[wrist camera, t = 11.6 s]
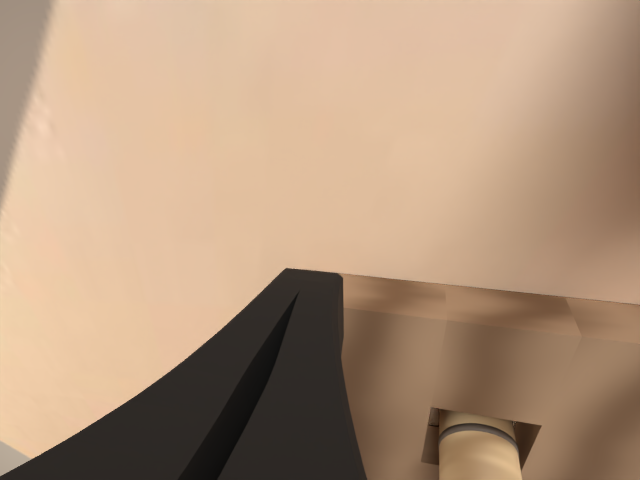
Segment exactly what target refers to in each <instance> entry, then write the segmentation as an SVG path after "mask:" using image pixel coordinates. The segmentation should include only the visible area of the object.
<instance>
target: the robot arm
mask: <svg viewBox="0 0 640 480" xmlns="http://www.w3.org/2000/svg"><path fill="white" fill-rule="evenodd" d="M343 338H344V302H343V277H342V276H341V275H339V274H338V273H330V272H320V271H310V270H300V269H290V268H286V269H285V270H283V271H282V272H281V273H280V274H279V275H278V276H277V277H276V278H275V279H274V280H273V281H272V282H271V283H270V284H269V285H268V286H267V287H266V288H265V289H264V290H263V291H262V292H261V293H260V294H259V295H258V296H257V297H256V298H254V299H253V300H252V301H251V302H250V303H249V304H248V305H247V306H246V307H245V308H244V309H243V310H242V311H241V312H240V313H239V314H237V315H236V316H235V317H234V318H233V319H232V320H231V321H230V322H229V323H228V324H227V325H226V326H224V327H223V328H222V329H221V330H220V331H219V332H218V333H217V334H215V335H214V336H213V337H212V338H211V339H209V340H208V341H207V342H206V343H205V344H203V345H202V346H201V347H200V348H199V349H197V350H196V351H195V352H194V353H193V354H191V355H190V356H189V357H188V358H187V359H185V360H184V361H183V362H181V363H180V364H179V365H178V366H176V367H175V368H174V369H172V370H171V371H170V372H168V373H167V374H166V375H164V376H163V377H162V378H160V379H159V380H158V381H156V382H155V383H153V384H152V385H151V386H149V387H148V388H146V389H145V390H144V391H142V392H141V393H139V394H138V395H137V396H135V397H134V398H132V399H131V400H129V401H127V402H126V403H124V404H123V405H121V406H120V407H118V408H117V409H115V410H113V411H112V412H110V413H109V414H107V415H105V416H104V417H102V418H101V419H99V420H98V421H96V422H94V423H93V424H91V425H90V426H88V427H86V428H85V429H83V430H82V431H80V432H79V433H77V434H75V435H74V436H72V437H70V438H68V439H67V440H65V441H63V442H62V443H60V444H58V445H56V446H55V447H53V448H51V449H49V450H48V451H46V452H44V453H42V454H41V455H39V456H37V457H35V458H33V459H32V460H30V461H28V462H26V463H24V464H23V465H20V466H19V467H17V468H15V469H13V470H11V471H10V472H8V473H6V474H4V475H2V476H0V480H367V477H366V473H365V470H364V466H363V462H362V458H361V454H360V450H359V446H358V442H357V438H356V434H355V430H354V425H353V421H352V416H351V412H350V407H349V402H348V397H347V391H346V386H345V380H344V374H343V367H342V360H341V354H342V346H343Z"/></svg>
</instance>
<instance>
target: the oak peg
mask: <svg viewBox="0 0 640 480" xmlns="http://www.w3.org/2000/svg"><path fill="white" fill-rule="evenodd" d="M438 450H439V480H522V475H521V469H520V463H519V451H518V445H517V443H516V439H515V432H514V426H513V421H512V420H506V419H500V418H494V417H488V416H482V415H476V414H469V413H463V412H457V411H451V410H445V409H439V439H438Z"/></svg>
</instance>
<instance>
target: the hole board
mask: <svg viewBox="0 0 640 480" xmlns="http://www.w3.org/2000/svg"><path fill="white" fill-rule="evenodd" d="M310 271H311V270H310ZM338 274H339V273H338ZM339 275H341V276H342V277H343V302H344V338H343V346H342V354H341V360H342V367H343V374H344V380H345V386H346V391H347V397H348V402H349V407H350V412H351V416H352V421H353V425H354V430H355V434H356V438H357V442H358V446H359V450H360V454H361V458H362V462H363V466H364V470H365V473H366V477H367V480H439V450H438V439H439V427H435V426H429V425H428V420H429V415H430V409H431V407H433V408H439V409H445V410H451V411H457V412H463V413H469V414H476V415H482V416H488V417H494V418H500V419H506V420H512V421H517V422H516V425H515V427H514V432H515V439H516V443H517V445H518V451H519V463H520V469H521V475H522V480H640V305H634V304H625V303H615V302H606V301H596V300H587V299H577V298H568V297H558V296H549V295H539V294H530V293H520V292H511V291H501V290H492V289H482V288H472V287H463V286H453V285H444V284H434V283H425V282H415V281H406V280H396V279H387V278H377V277H368V276H358V275H349V274H339Z"/></svg>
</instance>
